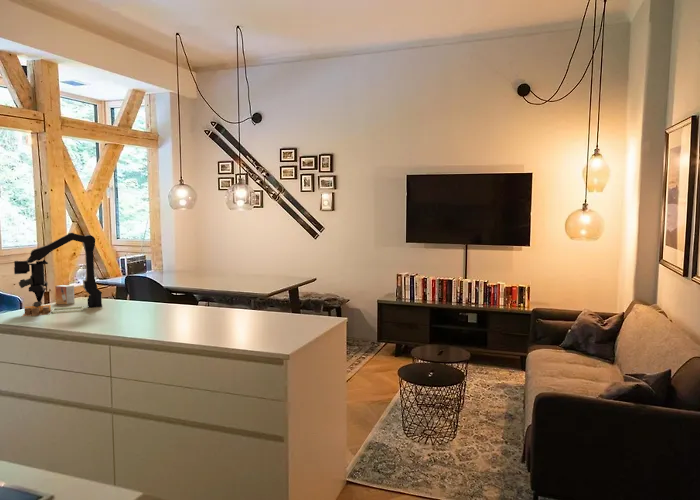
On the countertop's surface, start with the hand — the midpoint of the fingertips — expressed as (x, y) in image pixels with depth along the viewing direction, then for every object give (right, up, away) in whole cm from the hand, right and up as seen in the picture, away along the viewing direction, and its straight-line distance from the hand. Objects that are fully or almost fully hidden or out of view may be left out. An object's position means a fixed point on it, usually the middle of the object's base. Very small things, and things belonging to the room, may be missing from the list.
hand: (39, 302), depth 263 cm
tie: (+2, -1, -5) cm, 6 cm away
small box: (+1, -3, +22) cm, 23 cm away
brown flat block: (+3, -5, -5) cm, 8 cm away
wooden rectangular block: (+2, -5, -4) cm, 7 cm away
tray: (+14, -5, +1) cm, 15 cm away
